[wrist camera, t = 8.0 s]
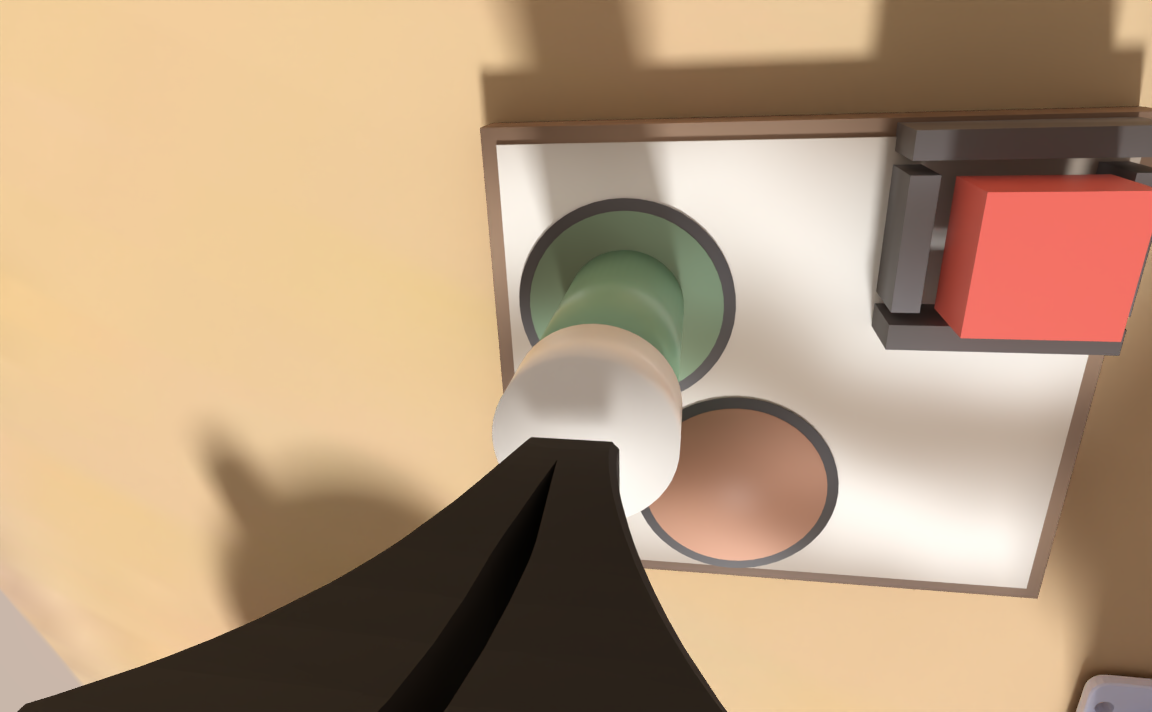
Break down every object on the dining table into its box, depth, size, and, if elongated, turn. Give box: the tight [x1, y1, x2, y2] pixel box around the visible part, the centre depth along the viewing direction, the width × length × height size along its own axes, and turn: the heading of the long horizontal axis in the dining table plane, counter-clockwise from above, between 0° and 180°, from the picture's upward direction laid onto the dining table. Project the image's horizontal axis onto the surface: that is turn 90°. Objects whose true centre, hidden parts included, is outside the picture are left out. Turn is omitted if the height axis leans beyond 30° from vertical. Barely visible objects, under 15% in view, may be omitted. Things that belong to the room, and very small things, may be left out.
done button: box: [934, 174, 1152, 342], centre depth 14 cm, size 3×3×2 cm
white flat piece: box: [480, 106, 1152, 598], centre depth 19 cm, size 13×15×3 cm
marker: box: [492, 250, 684, 517], centre depth 15 cm, size 3×3×7 cm
